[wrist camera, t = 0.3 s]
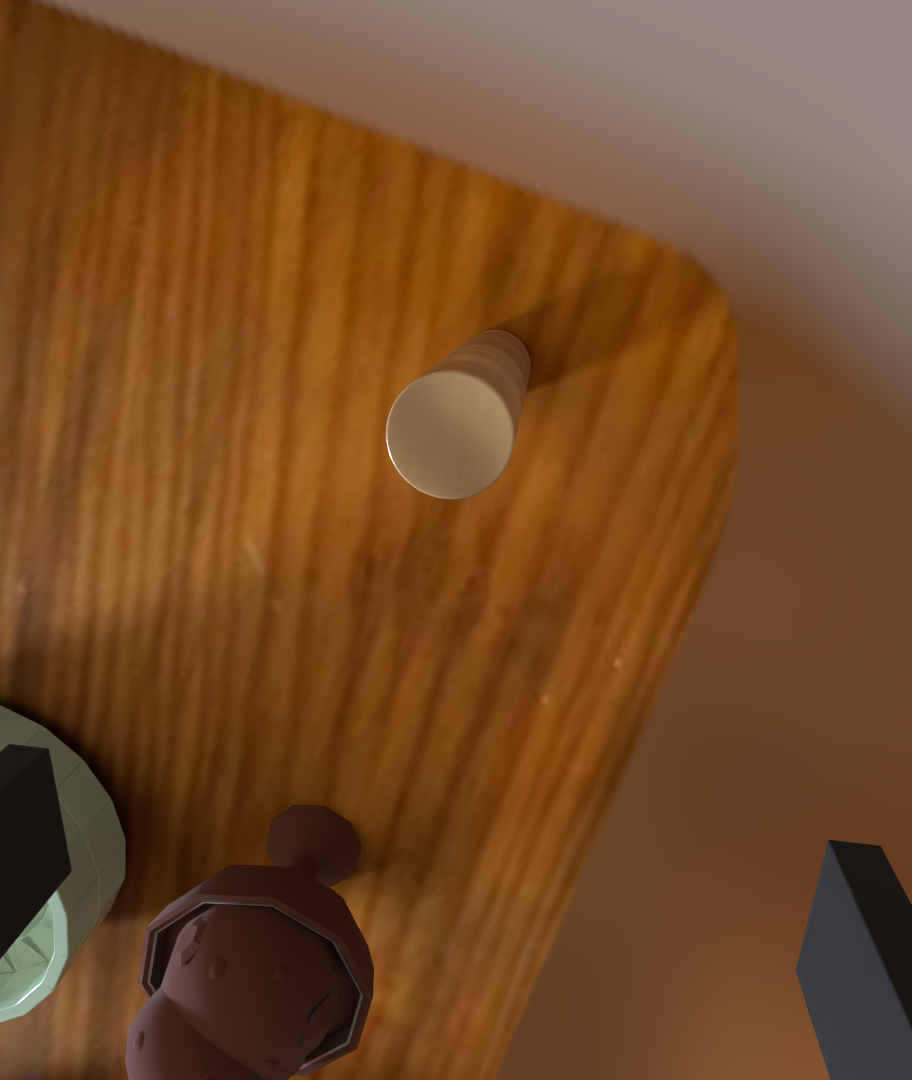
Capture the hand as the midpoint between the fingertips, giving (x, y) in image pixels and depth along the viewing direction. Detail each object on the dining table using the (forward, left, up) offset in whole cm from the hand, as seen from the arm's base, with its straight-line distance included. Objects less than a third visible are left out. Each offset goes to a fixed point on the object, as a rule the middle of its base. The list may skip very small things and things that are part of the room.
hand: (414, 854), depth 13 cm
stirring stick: (-4, -4, -24) cm, 25 cm away
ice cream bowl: (+22, +8, -24) cm, 34 cm away
